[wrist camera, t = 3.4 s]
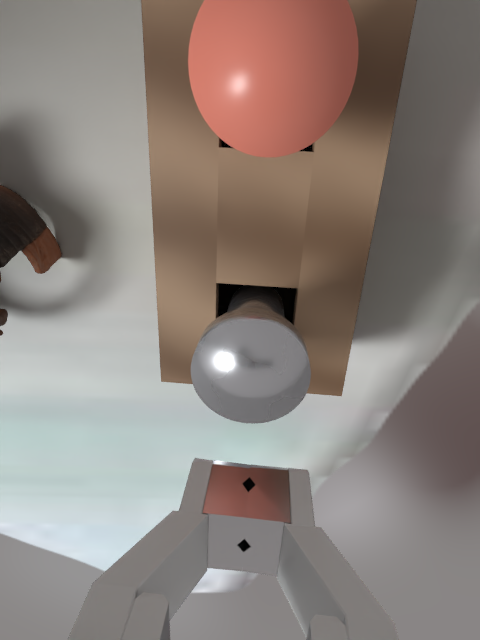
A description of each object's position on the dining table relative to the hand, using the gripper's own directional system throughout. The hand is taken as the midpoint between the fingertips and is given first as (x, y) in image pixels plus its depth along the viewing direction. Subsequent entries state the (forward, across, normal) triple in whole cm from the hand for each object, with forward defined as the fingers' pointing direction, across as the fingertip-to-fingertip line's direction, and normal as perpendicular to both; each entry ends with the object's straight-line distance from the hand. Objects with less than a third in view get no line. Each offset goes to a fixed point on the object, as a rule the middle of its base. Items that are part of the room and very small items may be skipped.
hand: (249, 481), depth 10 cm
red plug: (+12, 0, -10) cm, 15 cm away
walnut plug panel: (+16, 0, -5) cm, 17 cm away
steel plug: (+12, 0, 0) cm, 12 cm away
